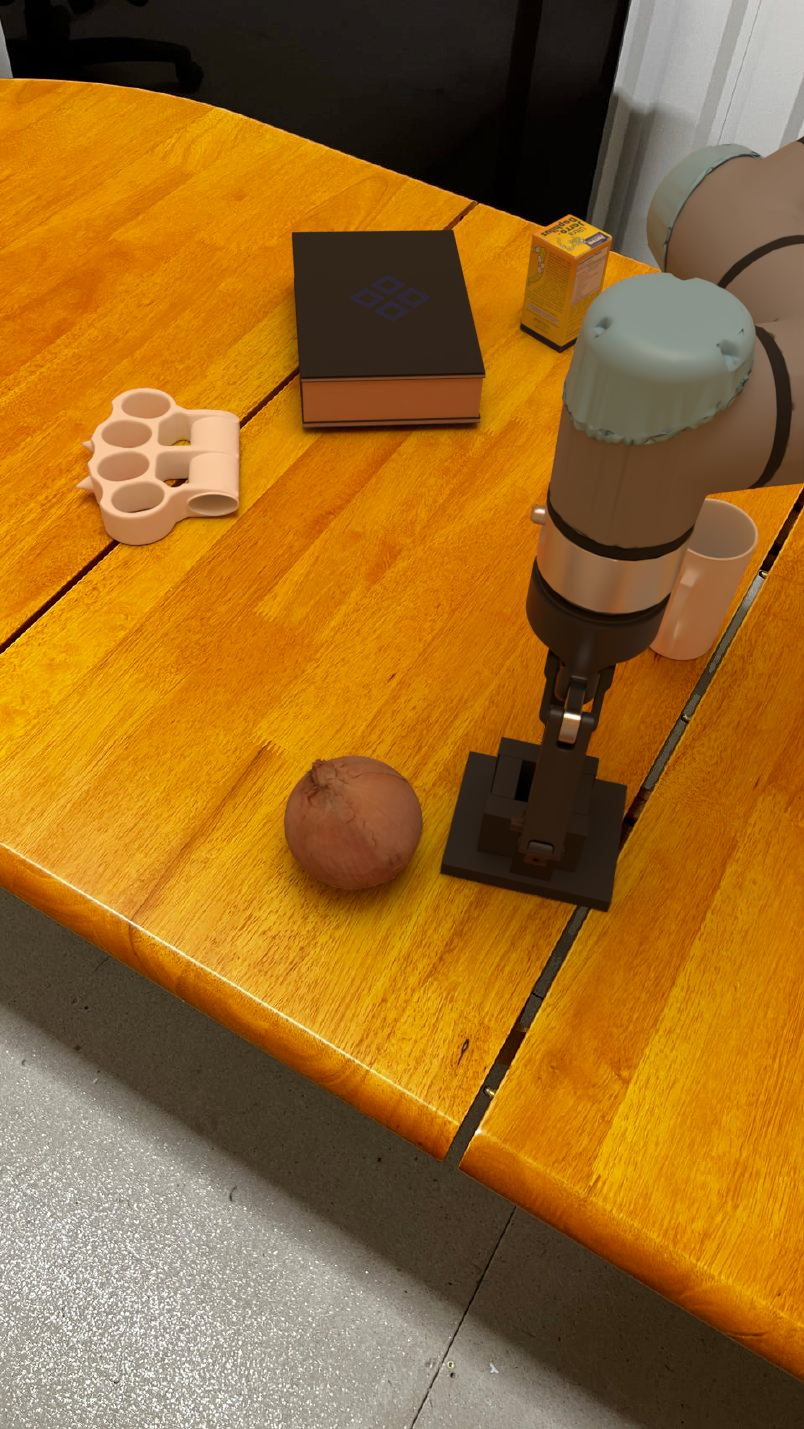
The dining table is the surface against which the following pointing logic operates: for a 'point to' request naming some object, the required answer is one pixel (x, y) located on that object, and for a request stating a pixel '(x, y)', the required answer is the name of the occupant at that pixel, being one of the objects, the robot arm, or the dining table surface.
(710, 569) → the mug
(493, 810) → the black hollow block
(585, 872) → the base pad
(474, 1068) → the dining table surface
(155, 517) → the knuckle duster
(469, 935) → the dining table surface
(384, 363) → the book
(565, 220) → the supplement box
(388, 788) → the onion
